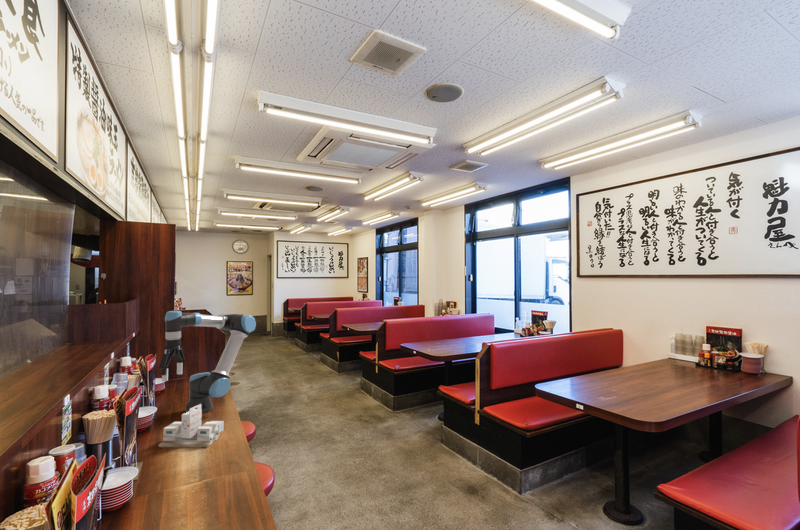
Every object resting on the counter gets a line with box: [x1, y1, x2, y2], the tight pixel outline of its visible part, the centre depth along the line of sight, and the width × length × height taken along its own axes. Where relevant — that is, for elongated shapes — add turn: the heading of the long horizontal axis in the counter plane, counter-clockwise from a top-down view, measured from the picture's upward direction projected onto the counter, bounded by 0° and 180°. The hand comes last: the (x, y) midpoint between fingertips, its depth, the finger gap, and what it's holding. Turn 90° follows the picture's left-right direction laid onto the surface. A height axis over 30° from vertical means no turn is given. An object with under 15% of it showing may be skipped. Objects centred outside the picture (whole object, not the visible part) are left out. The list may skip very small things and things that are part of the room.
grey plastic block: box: [210, 420, 225, 433], centre depth 198 cm, size 5×7×5 cm
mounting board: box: [158, 421, 223, 448], centre depth 186 cm, size 14×24×8 cm, turn 90°
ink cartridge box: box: [181, 404, 203, 439], centre depth 187 cm, size 9×5×15 cm, turn 169°
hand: (172, 377), depth 202 cm, fingers open, 13 cm apart
